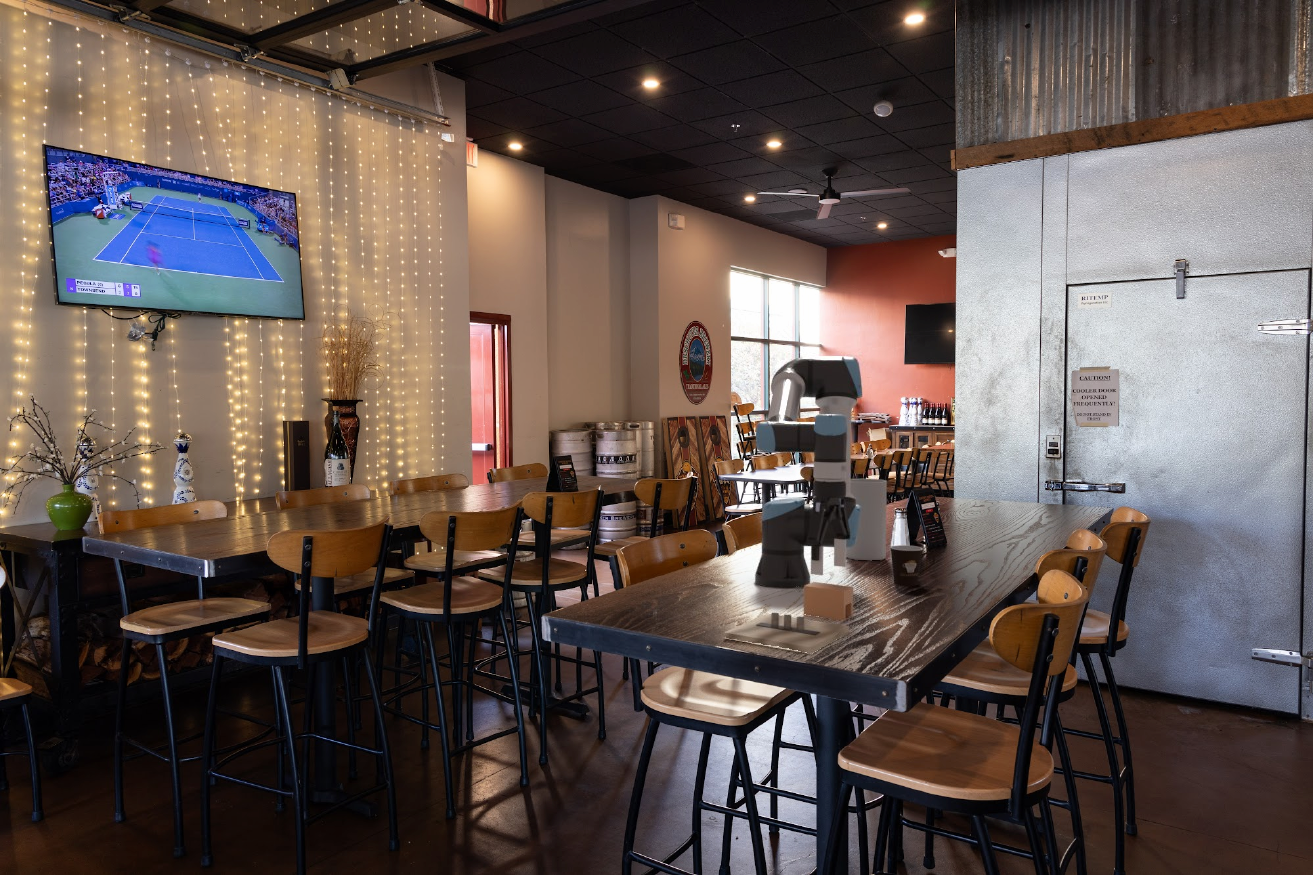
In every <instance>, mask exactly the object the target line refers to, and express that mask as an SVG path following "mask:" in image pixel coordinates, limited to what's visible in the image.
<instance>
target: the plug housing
mask: <svg viewBox="0 0 1313 875" xmlns="http://www.w3.org/2000/svg"><path fill="white" fill-rule="evenodd" d="M804 614H806V615H805V616H807V615H811V616H810V617H813V616H819V617H818V618H820V617H823V618H822V619H826V618H831V619H830V620H833V619H836V620H835V621H839V620H843V621H842V622H845V621H846V617H847V616H852V617H853V616H854V586H849V585H841V584H833V583H826V582H820V581H819V582H817V581H812V582H810V584H807V585H805V586H804V587H803V615H804ZM844 620H845V621H844Z"/></svg>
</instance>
